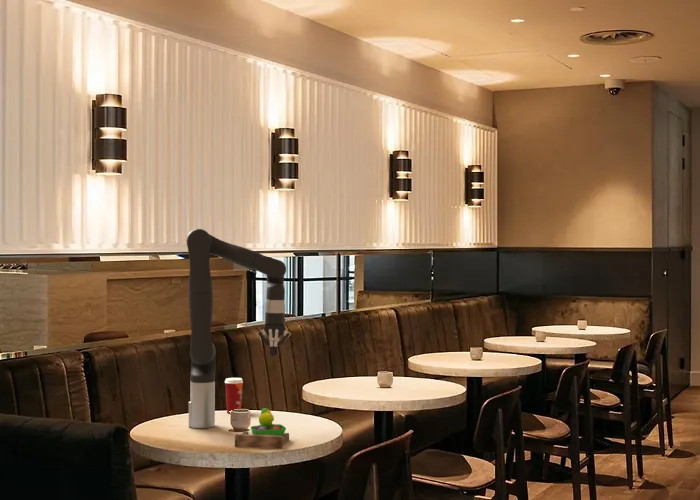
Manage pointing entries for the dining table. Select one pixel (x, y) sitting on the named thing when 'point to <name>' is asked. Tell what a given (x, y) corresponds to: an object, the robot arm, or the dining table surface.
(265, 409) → the fruit basket
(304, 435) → the dining table surface
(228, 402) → the paper cup
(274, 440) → the frame
